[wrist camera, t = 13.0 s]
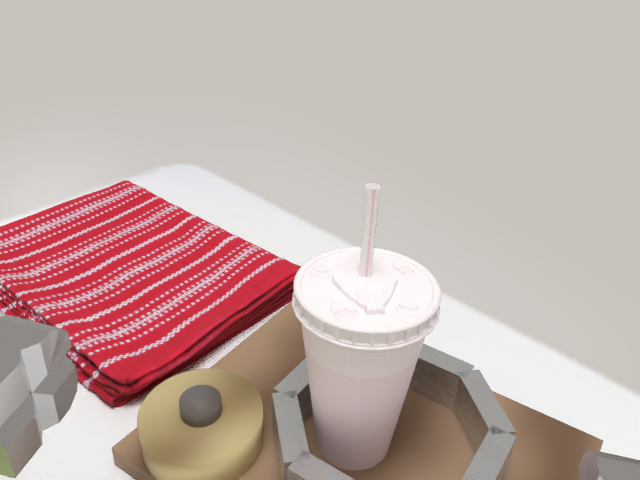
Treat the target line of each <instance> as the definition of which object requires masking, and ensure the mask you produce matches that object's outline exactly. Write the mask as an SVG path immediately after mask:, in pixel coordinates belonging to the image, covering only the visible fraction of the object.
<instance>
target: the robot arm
mask: <svg viewBox="0 0 640 480" xmlns="http://www.w3.org/2000/svg"><path fill="white" fill-rule="evenodd" d="M71 347H72V346H71V342H70V338H69V334H68V331H65V330H63V329H61V328H57V327H54V326H50V325H46V324H42V323H38V322H34V321H30V320H27V319H23V318H19V317H15V316H11V315H6V314H2V313H0V475H4V476H8V477H12V478H16V476H17V475H18V474H19V473H20V471H21V470H22V469H23V468H24V466H25V465H26V464H27V463H28V461H29V460H30V459H31V458H32V456H33V455H34V454H35V452H36V451H37V450H38V449H39V447H40V446H41V445H42V431H43V430H45V429H47V428H49V427H51V426H53V425H55V424H57V423H59V422H60V421H61V419H62V418H63V417H64V415H65V414H66V413H67V412H68V410H69V409H70V407H71V404H72V402H73V399H74V397H75V394H76V392H77V383H78V376H77V370H76V367H75V365H74V364H73V363H72V362H71V361H70V360H69V358H68V357H67V356H66V354H67V352H68V351H69V350H70V349H71ZM578 469H579V476H580V480H640V460H636V459H631V458H627V457H622V456H618V455H613V454H608V453H604V452H599V451H595V450H588V451H587V452H586V453H585V454H584V455H583V457H582V459H581V461H580V463H579V465H578Z"/></svg>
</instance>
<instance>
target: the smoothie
mask: <svg viewBox="0 0 640 480" xmlns="http://www.w3.org/2000/svg"><path fill="white" fill-rule="evenodd" d="M379 192H380V186H379V185H378V184H373V183H370V184H367V185H366V192H365V193H366V194H365V205H364V217H363V228H362V241H361V247H348V248H340V249H335V250H330V251H327V252H324V253H322V254H319V255H317V256H315V257H313V258H311V259H310V260H309V261H307V262H306V263H305V264H304V265H302V267H301V268H300V269H299V270H298V272H297V274H296V276H295V279H294V291H293V297H292V306H293V309H294V312H295V315H296V317H297V318H298V319H299V321H300V322H301V323H302V332H303V340H304V347H305V355H306V363H307V370H308V378H309V386H310V394H311V402H312V410H313V418H314V426H315V434H316V442H317V446H318V449H319V451H320V453H321V454H322V456H323V457H324V458H325V459H326V460H327V461H328V462H330V463H331V464H333V465H335V466H337V467H339V468H342V469H346V470H353V471H358V470H365V469H369V468H371V467H373V466H375V465H377V464H378V463H380V462H381V461H382V460H383V459H384V457H385V456H386V454H387V452H388V449H389V445H390V442H391V439H392V436H393V433H394V430H395V427H396V424H397V421H398V418H399V415H400V412H401V409H402V406H403V403H404V400H405V397H406V394H407V391H408V388H409V384H410V381H411V378H412V375H413V372H414V369H415V366H416V363H417V360H418V357H419V354H420V352H421V349H422V345H423V342H424V339H425V336H427V335H428V334H429V333H431V331H432V330H433V328H434V327H435V325H436V324H437V323H438V320H439V314H440V301H441V290H440V286H439V284H438V282H437V280H436V279H435V277H434V276H433V275H432V274H431V273H430V272H429V271H428V270H427V269H426V268H425V267H424V266H422V265H421V264H419V263H418V262H416V261H415V260H413V259H411V258H408V257H406V256H404V255H401V254H399V253H396V252H393V251H388V250H384V249H379V248H374V243H375V233H376V223H377V212H378V201H379Z"/></svg>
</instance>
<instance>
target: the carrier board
mask: <svg viewBox="0 0 640 480" xmlns="http://www.w3.org/2000/svg"><path fill="white" fill-rule="evenodd" d="M305 358H306V355H305V347H304V340H303V332H302V323H301V322H300V321H299V319H298V318H297V317H296V315H295V312H294V309H293V306H292V302H291V303H290V304H289V305H287V306H286V307H285V308H284V309H282V310H281V311H280V312H279V313H277V314H276V315H275V316H274V317H273V318H271V319H270V320H269V321H268V322H266V323H265V324H264V325H263V326H261V327H260V328H259V329H258V330H256V331H255V332H254V333H253V334H252V335H250V336H249V337H248V338H247V339H245V340H244V341H243V342H242V343H240V344H239V345H238V346H237V347H236V348H234V349H233V350H232V351H231V352H229V353H228V354H227V355H226V356H224V357H223V358H222V359H221V360H220V361H218V362H217V363H216V364H215V365H213V366H212V367H211V368H210V369H196V370H191V371H186V372H183V373H180V374H177V375H175V376H173V377H170V378H169V379H167V380H165V381H163V382H162V383H160V384H159V385H158V386H156V387H155V388H154V389H153V390H152V391H151V392H150V393H149V394H148V395H147V397H146V398H145V399H144V401H143V403H142V405H141V407H140V409H139V412H138V417H137V428H136V429H134V430H133V431H132V432H131V433H129V434H128V435H127V436H126V437H125V438H123V439H122V440H121V441H120V442H118V443H117V444H116V445H115V446H113V447H112V452H113V457H114V461H115V464H116V465H117V466H118V467H120V468H121V469H122V470H124V471H125V472H127V473H128V474H129V475H131V476H132V477H133V478H135V479H136V480H280V474H279V467H278V461H277V455H276V449H275V442H274V436H273V430H272V393H274V388H275V387H276V386H277V385H278V384H279V383H280V382H281V381H282V380H283V379H284V378H285V377H286V376H287V375H288V374H289V373H290V372H292V371H293V370H294V369H295V368H296V367H297V366H298V365H299V364H300V363H301V362H302V361H303V360H304V359H305ZM492 392H493V391H492ZM493 394H494V396H495V397H496V399H497V401H498V402H499V404H500V406H501V407H502V409H503V411H504V412H505V414H506V416H507V417H508V419H509V421H510V422H511V424H512V426H513V427H514V429H515V431H516V433H515V436H516V441H515V444H514V447H513V451H512V454H511V458H510V461H509V464H508V468H507V471H506V474H505V476H504V478H503V480H580V476H579V469H578V465H579V463H580V461H581V459H582V457H583V455H584V454H585V453H586V452H587V451H588V450H595V451H599V452H600V449H601V446H602V443H603V440H601V439H598V438H596V437H594V436H592V435H590V434H587V433H585V432H583V431H581V430H578V429H576V428H574V427H572V426H569V425H567V424H565V423H563V422H560V421H558V420H556V419H554V418H552V417H549V416H547V415H545V414H543V413H540V412H538V411H536V410H534V409H531V408H529V407H527V406H525V405H522V404H520V403H518V402H516V401H513V400H511V399H509V398H507V397H505V396H502V395H500V394H498V393H496V392H493ZM303 425H304V429H305V434H306V438H307V443H308V448H309V452H310V454H312V455H313V456H315V457H317V458H319V459H320V460H322V461H324V462H325V463H327V464H329V465H331V466H332V467H334V468H336V469H337V470H339V471H341V472H343V473H344V474H346V475H348V476H349V477H351V478H353V479H354V480H461V479H462V478H463V476H464V474H465V472H466V470H467V469H468V467H469V465H470V463H471V461H472V460H473V458H474V456H475V454H474V452H473V450H472V448H471V446H470V444H469V442H468V440H467V438H466V436H465V434H464V432H463V430H462V428H461V426H460V424H459V422H458V420H457V418H456V416H455V414H454V412H453V410H451V409H449V408H446V407H444V406H442V405H440V404H438V403H436V402H434V401H432V400H430V399H428V398H426V397H423V396H421V395H419V394H417V393H415V392H413V391H411V390H409V389H408V391H407V394H406V397H405V400H404V403H403V406H402V409H401V412H400V415H399V418H398V421H397V424H396V427H395V430H394V433H393V436H392V439H391V442H390V445H389V449H388V452H387V454H386V456H385V457H384V459H383V460H382V461H381V462H380V463H378V464H377V465H375V466H373V467H371V468H369V469H365V470H358V471H353V470H346V469H342V468H339V467H337V466H335V465H333V464H331V463H330V462H328V461H327V460H326V459H325V458H324V457H323V456H322V454H321V453H320V451H319V449H318V446H317V442H316V434H315V426H314V418H313V412H312V414H311V415H310V416H309V417H308V418H307V419H306V420H305V421H304V422H303Z"/></svg>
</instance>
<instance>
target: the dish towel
mask: <svg viewBox="0 0 640 480" xmlns="http://www.w3.org/2000/svg"><path fill="white" fill-rule="evenodd" d="M300 268H301V266H298V265H295V264H293V263H291V262H289V261H287V260H286V259H283V258H280V257H278V256H276V255H274V254H272V253H270V252H268V251H266V250H264V249H262V248H260V247H258V246H256V245H254V244H252V243H250V242H247V241H245V240H243V239H242V238H240V237H238V236H235V235H232V234H230V233H229V232H227V231H225V230H223V229H221V228H220V227H218V226H216V225H214V224H211V223H209V222H207V221H205V220H203V219H201V218H199V217H198V216H194V215H192V214H190V213H189V212H187V211H185V210H183V209H182V208H180V207H179V206H175V205H173V204H171V203H169V202H167V201H165V200H164V199H162V198H160V197H158V196H156V195H154V194H152V193H151V192H149V191H147V190H146V189H145V188H143V187H140V186H138V185H135V184H133V183H131V182H130V181H122V182H120V183H117V184H115V185H113V186H110V187H108V188H105V189H103V190H100V191H97V192H94V193H91V194H87V195H84V196H82V197H79V198H76V199H73V200H70V201H67V202H65V203H62V204H59V205H57V206H54V207H52V208H49V209H47V210H44V211H41V212H39V213H36V214H34V215H31V216H28V217H26V218H23V219H20V220H18V221H14V222H12V223H9V224H7V225H3V226H1V227H0V311H1V313H2V314H6V315H11V316H15V317H19V318H23V319H27V320H30V321H34V322H38V323H42V324H46V325H50V326H54V327H57V328H61V329H63V330H65V331H68V334H69V338H70V342H71V346H72V347H71V349H70V350H69V351H68V352H67V354H66V356H67V357H68V358H69V360H70V361H71V362H72V363H73V364H74V365H75V367H76V370H77V376H78V380H79V381H80V382H81V383H82V384H83V385H84V386H85V387H86V388H88V389H90V390H92V391H93V392H95V393H96V394H98V396H99V397H100V398H102V399H103V400H104V401H105V402H107V403H108V404H109V405H111V406H115V407H121V406H123V405H125V404H126V403H128V402H129V401H131V400H133V399H135V398H137V397H138V396H140V395H142V394H143V393H145V392H146V391H148V390H150V389H151V388H153V387H154V386H156V385H158V384H159V383H161V382H163V381H164V380H166V379H167V378H169V377H171V376H172V375H173V374H175V373H177V372H178V371H180V370H181V369H183V368H184V367H186V366H188V365H190V364H191V363H193V362H195V361H196V360H198V359H199V358H201V357H203V356H204V355H206V354H207V353H209V352H211V351H212V350H214V349H215V348H217V347H219V346H220V345H222V344H223V343H225V342H227V341H228V340H230V339H232V338H233V337H235V336H236V335H238V334H239V333H241V332H242V331H244V330H246V329H247V328H249V327H251V326H253V325H254V324H256V323H257V322H259V321H260V320H262V319H263V318H265V317H266V316H268V315H270V314H271V313H273V312H275V311H276V310H277V309H279V308H281V307H282V306H284V305H285V304H287V303H289V302H290V301H292V297H293V291H294V279H295V276H296V274H297V272H298V270H299V269H300Z"/></svg>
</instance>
